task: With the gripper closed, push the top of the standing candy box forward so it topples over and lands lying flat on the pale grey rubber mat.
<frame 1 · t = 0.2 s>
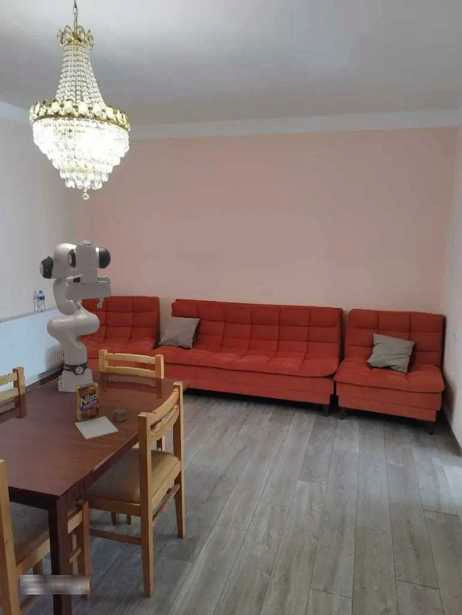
hand: (89, 308, 192), 47 cm above the table, fingers open, 8 cm apart
mat: (96, 427, 179), on the table
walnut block: (119, 419, 187), on the table
candy box: (88, 418, 188), on the table
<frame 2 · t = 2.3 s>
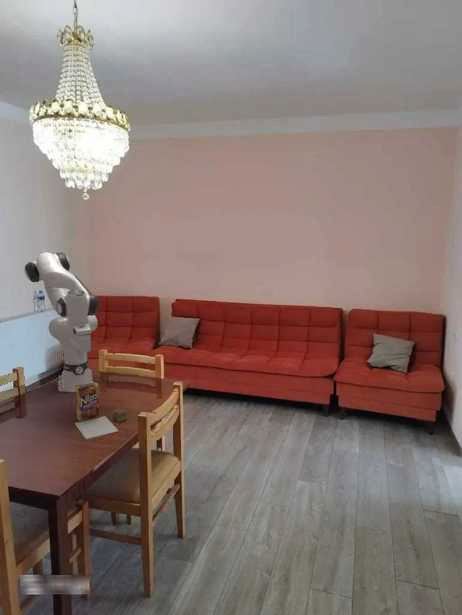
hand: (80, 357, 190), 25 cm above the table, fingers closed
nothing on the table moved.
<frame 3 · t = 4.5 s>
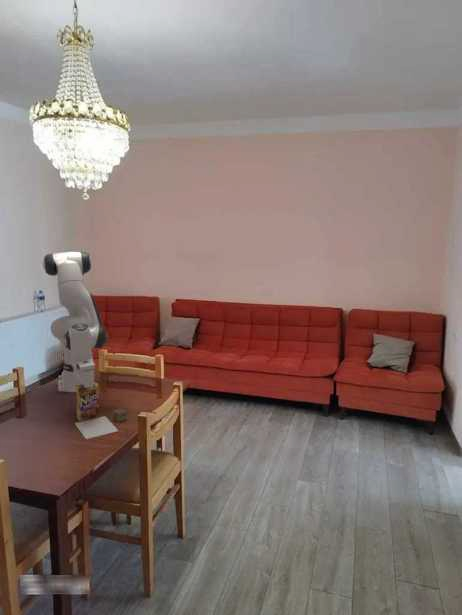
hand: (84, 391, 190), 11 cm above the table, fingers closed
candy box: (88, 418, 188), on the table, touching gripper
everything else where it was.
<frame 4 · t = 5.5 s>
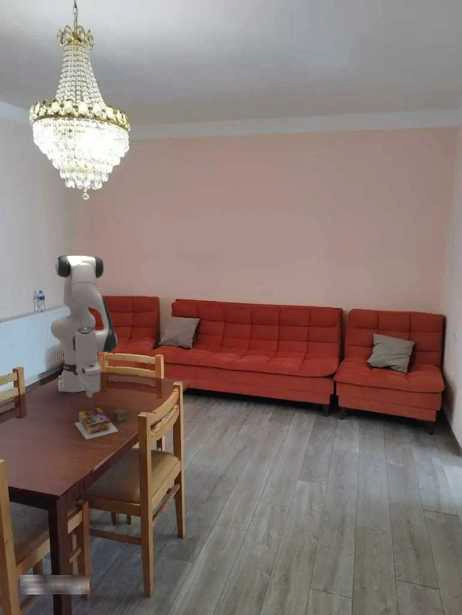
hand: (89, 396, 184), 11 cm above the table, fingers closed
candy box: (89, 414, 187), point 2 cm above the table, touching mat
everything else where it was.
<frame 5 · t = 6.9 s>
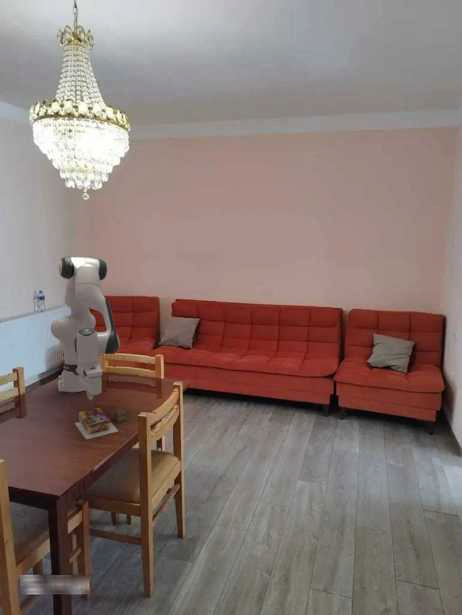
hand: (90, 398, 182), 11 cm above the table, fingers closed
nothing on the table moved.
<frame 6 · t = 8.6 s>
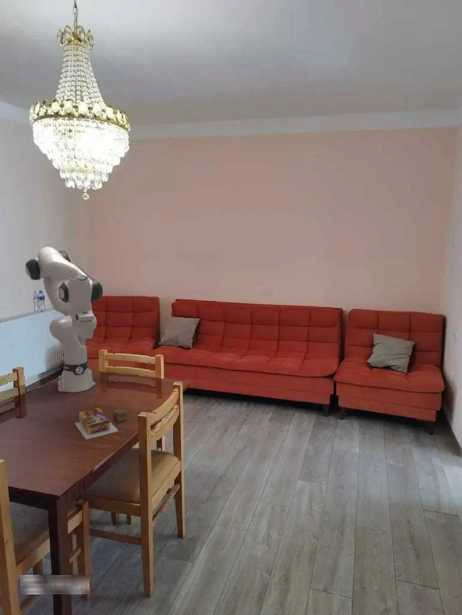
hand: (82, 344, 185), 32 cm above the table, fingers closed
nothing on the table moved.
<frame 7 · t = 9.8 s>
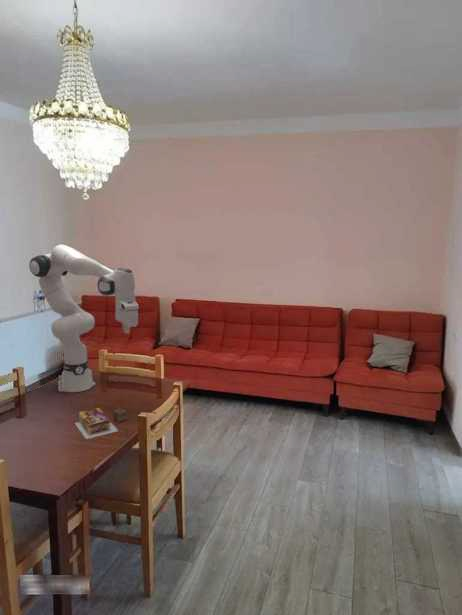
hand: (126, 332, 200), 34 cm above the table, fingers closed
nothing on the table moved.
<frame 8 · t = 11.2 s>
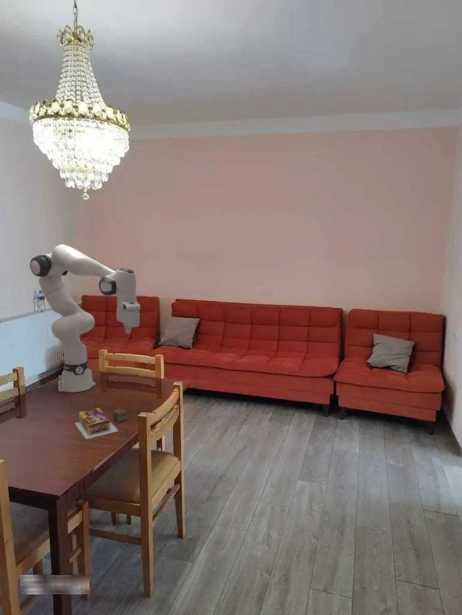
hand: (127, 333, 200), 34 cm above the table, fingers closed
nothing on the table moved.
at the end: candy box tilted 89°; candy box 9.9 cm from the mat (horizontally) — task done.
